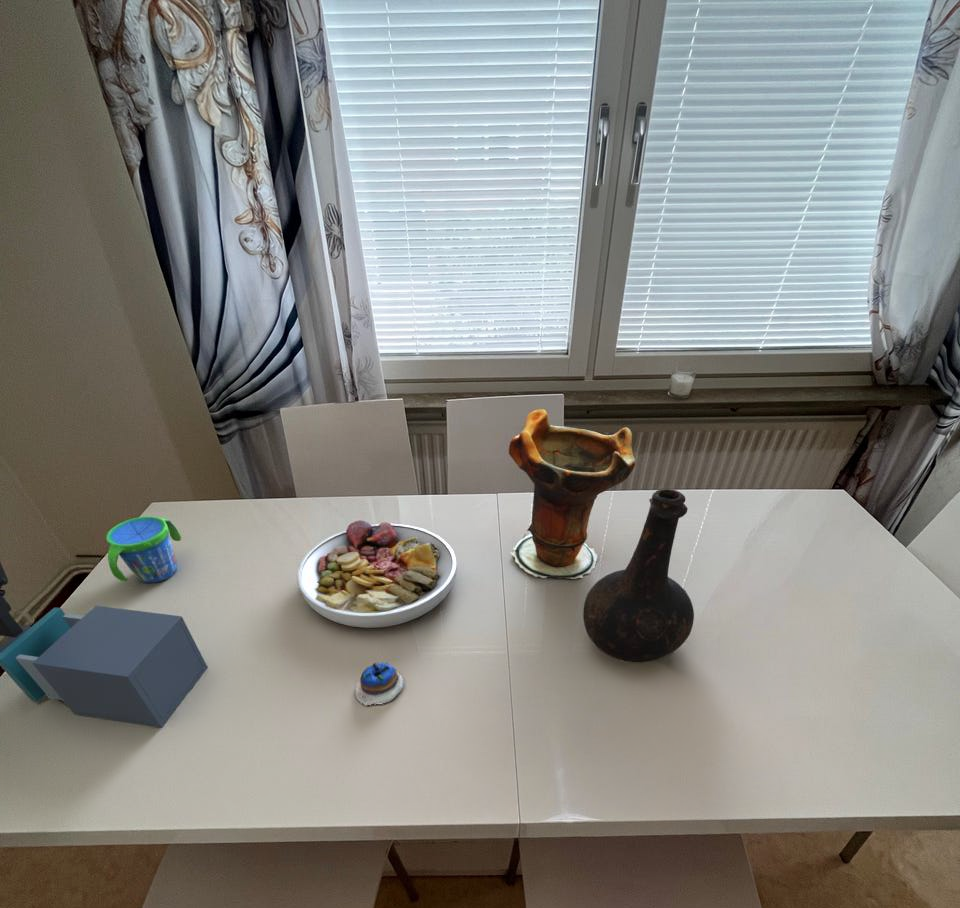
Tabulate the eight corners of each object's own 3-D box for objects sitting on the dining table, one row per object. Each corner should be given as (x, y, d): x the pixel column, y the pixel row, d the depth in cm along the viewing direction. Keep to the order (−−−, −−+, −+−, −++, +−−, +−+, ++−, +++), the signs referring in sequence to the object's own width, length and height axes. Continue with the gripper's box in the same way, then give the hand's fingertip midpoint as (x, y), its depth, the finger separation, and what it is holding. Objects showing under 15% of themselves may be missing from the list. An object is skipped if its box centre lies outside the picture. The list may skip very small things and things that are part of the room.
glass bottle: (582, 676, 87) (610, 527, 68) (575, 607, 100) (597, 465, 81) (692, 682, 86) (752, 532, 67) (671, 611, 99) (717, 468, 80)
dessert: (390, 659, 89) (393, 652, 83) (408, 694, 88) (412, 689, 83) (345, 679, 86) (346, 673, 81) (363, 716, 86) (364, 712, 80)
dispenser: (74, 714, 82) (31, 663, 74) (128, 656, 91) (95, 605, 83) (161, 728, 80) (127, 676, 72) (208, 667, 89) (182, 616, 81)
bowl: (483, 606, 100) (483, 572, 95) (327, 657, 90) (317, 623, 85) (422, 530, 120) (419, 499, 114) (287, 566, 110) (277, 533, 104)
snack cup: (145, 602, 101) (120, 557, 94) (106, 588, 105) (80, 544, 98) (206, 559, 112) (188, 516, 105) (170, 548, 115) (150, 505, 108)
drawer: (-3, 695, 83) (-44, 653, 77) (52, 645, 91) (20, 602, 85) (110, 713, 81) (77, 670, 74) (156, 659, 89) (131, 617, 82)
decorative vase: (618, 591, 104) (649, 451, 84) (500, 583, 106) (504, 445, 86) (611, 533, 119) (636, 404, 100) (508, 527, 121) (513, 399, 101)
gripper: (-132, 521, 60) (-2, 666, 76) (-31, 470, 69) (65, 609, 85) (-187, 515, 61) (-48, 660, 77) (-81, 465, 70) (24, 603, 86)
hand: (11, 633), depth 81 cm, fingers closed
